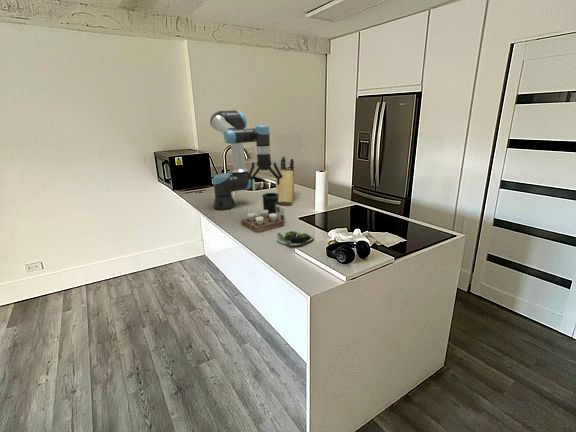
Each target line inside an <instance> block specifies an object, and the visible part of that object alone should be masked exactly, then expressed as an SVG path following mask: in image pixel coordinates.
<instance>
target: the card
mask: <svg viewBox="0 0 576 432" xmlns="http://www.w3.org/2000/svg"><path fill="white" fill-rule="evenodd" d="M276 214H277V218H278V219H281V220H283V221H284V223H286V220H287V219H286V217H287V216H286V207H284V206H281V205H280V204H279V205H276Z"/></svg>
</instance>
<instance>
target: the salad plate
mask: <svg viewBox="0 0 576 432" xmlns="http://www.w3.org/2000/svg"><path fill="white" fill-rule="evenodd" d="M276 236H278V237H277V239H276V240H277V242H279V243H280V244H283V245H285V246H288V247H291V248H301V247H304V246H306V245H308V244H310V243H312V241H314V236H313V235H312V234H309V233H307V232H306V233H305V232H302V231H297V230H293V231H292V230H290V231H287V232H286V231H285V232H284V234H282V233H281V232H278V233H277V235H276ZM303 245H304V246H303ZM300 246H301V247H300Z"/></svg>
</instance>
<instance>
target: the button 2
mask: <svg viewBox="0 0 576 432" xmlns="http://www.w3.org/2000/svg"><path fill="white" fill-rule="evenodd" d="M258 216H259V217H256V222H257V226H261V225H263V224H262V221H264V220H263V217H261V216H260V215H258Z"/></svg>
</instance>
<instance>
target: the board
mask: <svg viewBox="0 0 576 432" xmlns="http://www.w3.org/2000/svg"><path fill="white" fill-rule="evenodd" d="M259 216H261V217H262V214H261V215H257V216H256V215H255V217H254V221H253V222H249V218H248V217H247V218H243V219H241V225H242V226H243V227H245V228H247V229H249V230H251V231H252V232H254V233H256V234H259V233H263V232H266V231H270V230H275V229H277V228H280V227H281V228H282V227H284V226H285V222H284V221H283V220H281V219H278V218H276V222H271V219H270V218H269V214H267V218H265V219H263V220H264V221H262V224H263V225H261V226H257V222H256V217H259Z"/></svg>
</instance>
